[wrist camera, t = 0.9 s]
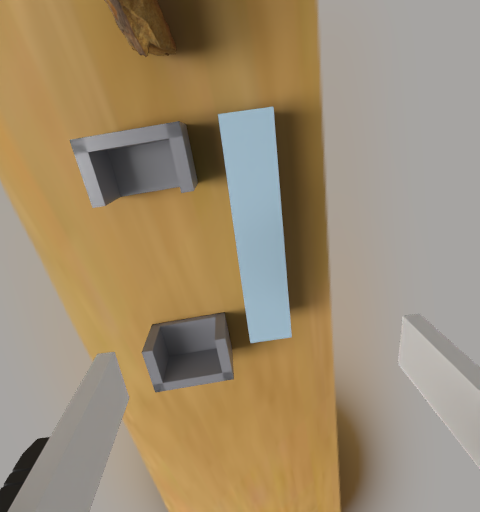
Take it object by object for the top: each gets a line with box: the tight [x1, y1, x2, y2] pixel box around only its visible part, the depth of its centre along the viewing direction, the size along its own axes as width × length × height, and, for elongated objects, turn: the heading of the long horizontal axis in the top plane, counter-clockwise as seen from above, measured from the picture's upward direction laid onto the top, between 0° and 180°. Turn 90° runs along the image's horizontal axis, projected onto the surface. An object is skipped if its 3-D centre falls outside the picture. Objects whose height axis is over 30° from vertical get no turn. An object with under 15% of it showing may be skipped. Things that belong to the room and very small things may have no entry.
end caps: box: [70, 121, 234, 392], centre depth 28 cm, size 24×8×5 cm, turn 9°
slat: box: [218, 107, 292, 343], centre depth 28 cm, size 20×4×5 cm, turn 7°
